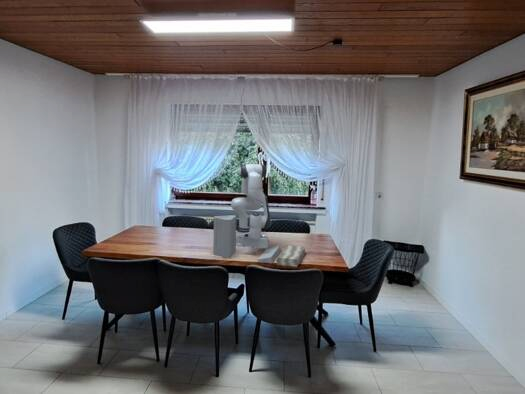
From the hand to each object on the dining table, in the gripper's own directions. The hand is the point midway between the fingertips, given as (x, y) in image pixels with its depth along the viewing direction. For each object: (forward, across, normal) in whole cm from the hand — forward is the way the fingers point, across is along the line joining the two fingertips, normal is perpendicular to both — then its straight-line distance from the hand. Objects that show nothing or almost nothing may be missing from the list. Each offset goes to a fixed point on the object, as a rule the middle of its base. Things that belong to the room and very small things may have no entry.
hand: (254, 252), depth 273 cm
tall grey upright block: (+2, +23, +6) cm, 24 cm away
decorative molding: (+2, -12, -1) cm, 12 cm away
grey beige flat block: (+2, -28, 0) cm, 28 cm away
